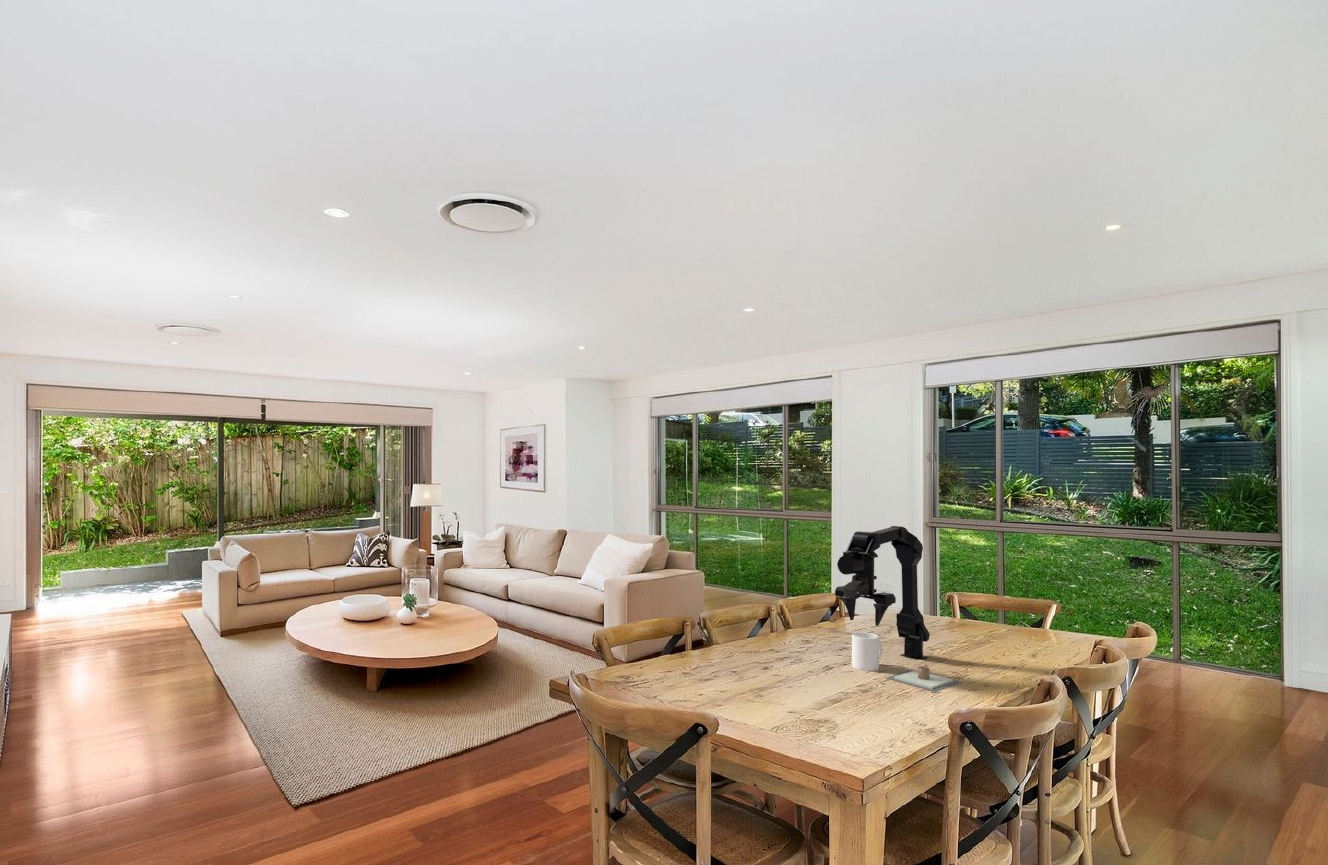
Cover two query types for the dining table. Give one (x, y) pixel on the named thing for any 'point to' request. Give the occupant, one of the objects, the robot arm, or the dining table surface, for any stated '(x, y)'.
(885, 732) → the dining table surface
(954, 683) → the mat
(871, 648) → the mug
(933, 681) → the panel
